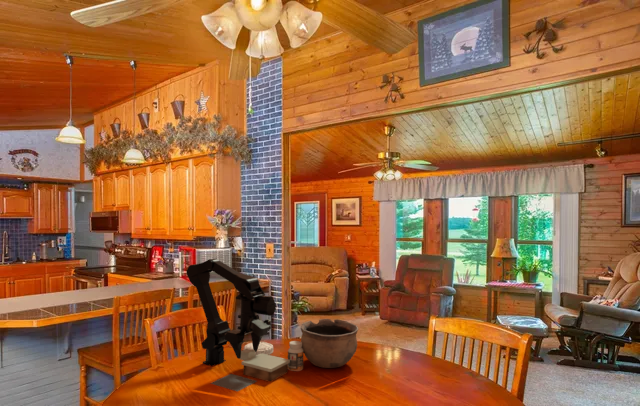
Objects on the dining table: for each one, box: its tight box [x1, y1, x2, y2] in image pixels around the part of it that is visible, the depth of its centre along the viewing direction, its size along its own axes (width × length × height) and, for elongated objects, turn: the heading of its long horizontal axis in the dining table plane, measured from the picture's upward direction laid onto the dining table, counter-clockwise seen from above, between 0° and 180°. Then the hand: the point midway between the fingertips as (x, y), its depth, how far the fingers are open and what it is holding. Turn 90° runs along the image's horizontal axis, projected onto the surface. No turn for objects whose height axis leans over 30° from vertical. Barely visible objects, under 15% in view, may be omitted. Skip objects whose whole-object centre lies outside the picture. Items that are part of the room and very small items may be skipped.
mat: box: [210, 373, 258, 392], centre depth 141 cm, size 12×10×1 cm
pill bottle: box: [287, 340, 304, 372], centre depth 155 cm, size 6×6×10 cm
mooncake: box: [243, 341, 274, 356], centre depth 173 cm, size 12×12×4 cm
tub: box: [243, 364, 289, 383], centre depth 150 cm, size 12×10×4 cm
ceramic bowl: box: [299, 318, 359, 369], centre depth 161 cm, size 22×22×15 cm
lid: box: [239, 349, 290, 372], centre depth 151 cm, size 17×11×4 cm, turn 59°
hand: (247, 354), depth 154 cm, fingers open, 9 cm apart
